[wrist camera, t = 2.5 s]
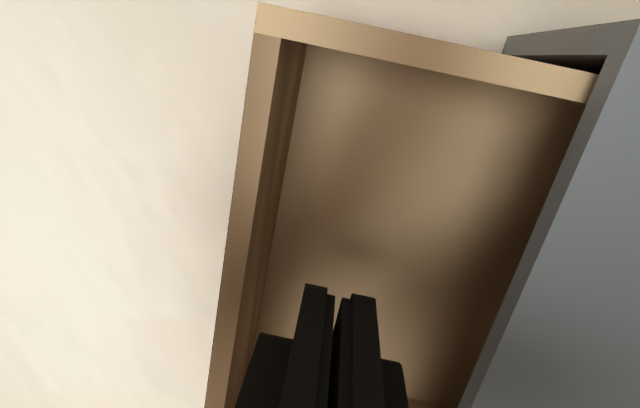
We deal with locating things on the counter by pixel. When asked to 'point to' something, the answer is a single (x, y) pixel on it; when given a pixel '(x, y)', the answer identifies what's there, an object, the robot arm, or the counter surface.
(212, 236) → the counter surface
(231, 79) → the counter surface
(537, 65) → the tray
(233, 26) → the counter surface
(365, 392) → the robot arm
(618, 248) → the sleeve
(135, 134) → the counter surface
